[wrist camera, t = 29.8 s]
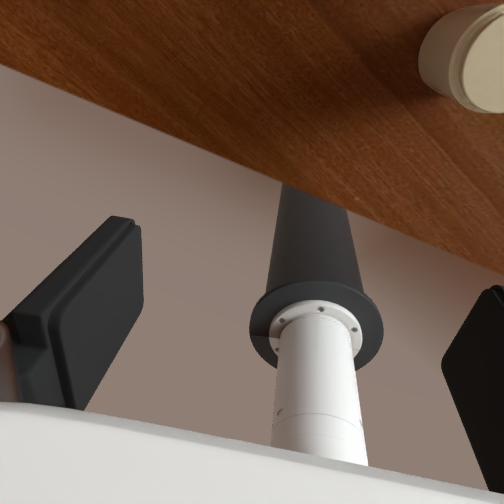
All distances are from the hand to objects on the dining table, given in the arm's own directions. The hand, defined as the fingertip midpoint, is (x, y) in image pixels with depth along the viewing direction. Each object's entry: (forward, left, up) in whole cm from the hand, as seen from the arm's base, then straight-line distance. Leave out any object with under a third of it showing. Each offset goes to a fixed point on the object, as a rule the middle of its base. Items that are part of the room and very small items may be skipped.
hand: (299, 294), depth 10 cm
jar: (+5, -12, -28) cm, 31 cm away
